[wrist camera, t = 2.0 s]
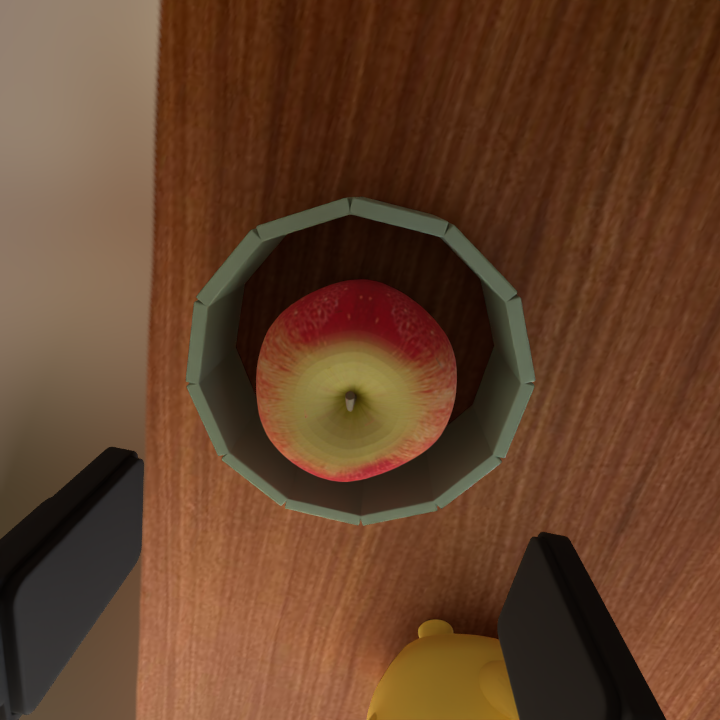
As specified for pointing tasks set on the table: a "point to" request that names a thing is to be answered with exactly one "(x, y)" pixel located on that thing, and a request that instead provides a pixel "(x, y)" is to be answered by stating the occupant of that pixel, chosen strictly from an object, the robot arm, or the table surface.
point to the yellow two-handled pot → (445, 679)
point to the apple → (355, 380)
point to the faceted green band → (404, 483)
